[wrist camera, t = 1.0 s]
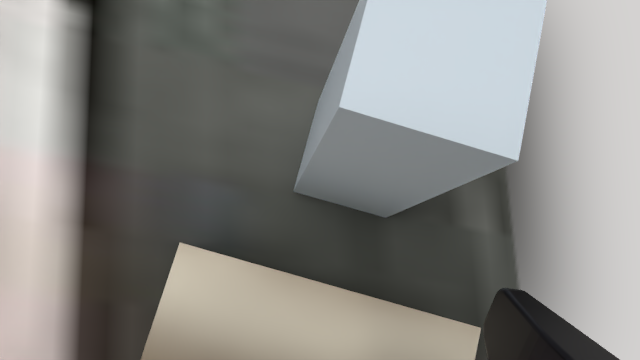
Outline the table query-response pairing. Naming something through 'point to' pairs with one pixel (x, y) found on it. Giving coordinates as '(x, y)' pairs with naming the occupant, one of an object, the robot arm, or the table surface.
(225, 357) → the wooden block
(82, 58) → the table surface
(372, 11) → the tall block
